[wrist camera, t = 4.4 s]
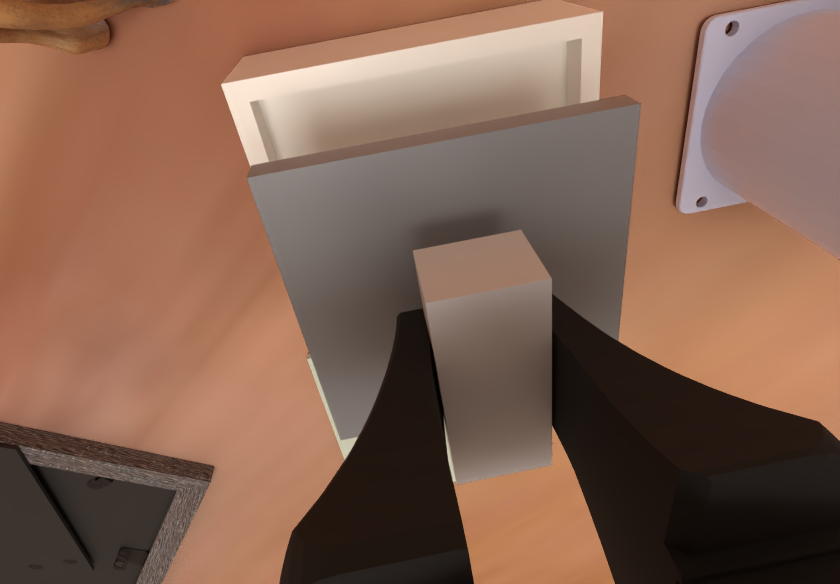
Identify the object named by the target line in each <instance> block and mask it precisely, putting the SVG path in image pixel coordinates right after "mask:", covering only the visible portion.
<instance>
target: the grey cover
mask: <svg viewBox="0 0 840 584" xmlns="http://www.w3.org/2000/svg"><path fill="white" fill-rule="evenodd" d="M640 107H641V103H639V102H637V101H635V100H633V99H631V98H630V97H628V96H626V95H622V96H617V97H611V98H606V99H601V100H596V101H590V102H585V103H580V104H574V105H569V106H564V107H558V108H553V109H548V110H542V111H537V112H532V113H526V114H521V115H516V116H510V117H505V118H500V119H494V120H489V121H484V122H479V123H473V124H468V125H463V126H457V127H452V128H447V129H441V130H436V131H431V132H425V133H420V134H415V135H409V136H404V137H399V138H393V139H388V140H383V141H377V142H372V143H367V144H362V145H356V146H351V147H346V148H340V149H335V150H330V151H324V152H319V153H314V154H308V155H303V156H298V157H292V158H287V159H282V160H276V161H271V162H266V163H261V164H255V165H252V166H251V168H250V171H249V173H248V176H247V180H248V183H249V186H250V189H251V191H252V194H253V197H254V200H255V203H256V205H257V208H258V211H259V214H260V216H261V219H262V222H263V225H264V228H265V230H266V233H267V236H268V239H269V242H270V244H271V247H272V250H273V253H274V256H275V258H276V261H277V264H278V267H279V270H280V272H281V275H282V278H283V281H284V284H285V286H286V289H287V292H288V295H289V298H290V300H291V303H292V306H293V309H294V311H295V314H296V317H297V320H298V323H299V325H300V328H301V331H302V334H303V337H304V339H305V342H306V345H307V348H308V351H309V353H310V356H311V359H312V362H313V365H314V367H315V370H316V373H317V376H318V379H319V381H320V384H321V387H322V390H323V393H324V395H325V398H326V401H327V404H328V406H329V409H330V412H331V415H332V418H333V420H334V423H335V426H336V429H337V432H338V434H339V437H340V440H345V439H350V438H355V437H358V436H359V434H360V433H361V431H362V429H363V427H364V425H365V423H366V421H367V419H368V416H369V414H370V412H371V410H372V408H373V405H374V403H375V401H376V398H377V396H378V393H379V390H380V387H381V384H382V382H383V379H384V376H385V373H386V370H387V367H388V363H389V359H390V356H391V352H392V348H393V343H394V339H395V333H396V323H397V316H398V315H399V314H400V313H401V312H406V311H411V310H417V309H422V308H423V311H424V316H425V320H426V324H427V328H428V332H429V337H430V343H431V349H432V354H433V360H434V366H435V371H436V377H437V383H438V388H439V394H440V400H441V405H442V411H443V417H444V426H445V432H446V437H447V441H448V446H449V450H450V455H451V460H452V464H453V469H454V474H455V478H456V483H457V485H458V484H463V483H468V482H472V481H477V480H482V479H487V478H492V477H497V476H502V475H507V474H512V473H517V472H521V471H526V470H531V469H536V468H541V467H546V466H551V465H552V294H553V295H555V296H556V297H557V298H559V299H560V300H561V301H562V302H564V303H565V304H566V305H567V306H569V307H570V308H571V309H573V310H574V311H575V312H577V313H578V314H579V315H581V316H582V317H583V318H585V319H586V320H588V321H589V322H590V323H592V324H593V325H595V326H596V327H597V328H599V329H600V330H602V331H603V332H605V333H606V334H608V335H609V336H611V337H612V338H614V339H615V340H617V341H618V338H619V327H620V317H621V306H622V296H623V285H624V275H625V264H626V254H627V243H628V233H629V222H630V212H631V201H632V191H633V180H634V170H635V160H636V149H637V139H638V128H639V118H640Z"/></svg>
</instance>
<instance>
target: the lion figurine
mask: <svg viewBox="0 0 840 584" xmlns="http://www.w3.org/2000/svg"><path fill="white" fill-rule="evenodd" d="M171 1H172V0H90V1H84V2H74V3H67V4H41V3H32V2H25V1H19V0H0V43H30V44H36V45H41V46H46V47H50V48H54V49H57V50H60V51H62V52H65V53H68V54H83V53H86V52H89V51H92V50H98V49H102V48H105V47H106V46H107V44H108V42H109V39H110V31H109V27H108V25H107V23H106V22H105V21H104V19H106V18H108V17H111V16H113V15H116V14H118V13H121V12H123V11H125V10H127V9H129V8H134V7H139V6H144V7H150V8H153V7H155V6H158V5H166V4H168V3H170V2H171Z"/></svg>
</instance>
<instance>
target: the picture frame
mask: <svg viewBox="0 0 840 584" xmlns="http://www.w3.org/2000/svg"><path fill="white" fill-rule="evenodd" d="M213 469H214V466H212V465H207V464H202V463H197V462H192V461H187V460H182V459H178V458H173V457H168V456H163V455H158V454H153V453H149V452H144V451H139V450H134V449H129V448H124V447H120V446H115V445H110V444H105V443H100V442H95V441H91V440H86V439H81V438H76V437H71V436H66V435H62V434H57V433H52V432H47V431H42V430H37V429H33V428H28V427H23V426H18V425H13V424H8V423H3V422H0V584H161V583H162V581H163V579H164V577H165V575H166V573H167V571H168V569H169V567H170V565H171V562H172V560H173V558H174V556H175V554H176V552H177V550H178V548H179V546H180V544H181V542H182V540H183V538H184V536H185V534H186V532H187V530H188V527H189V525H190V523H191V521H192V519H193V517H194V515H195V513H196V511H197V509H198V507H199V505H200V503H201V501H202V499H203V497H204V495H205V492H206V490H207V488H208V486H209V484H210V482H211V478H212V474H213Z"/></svg>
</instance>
